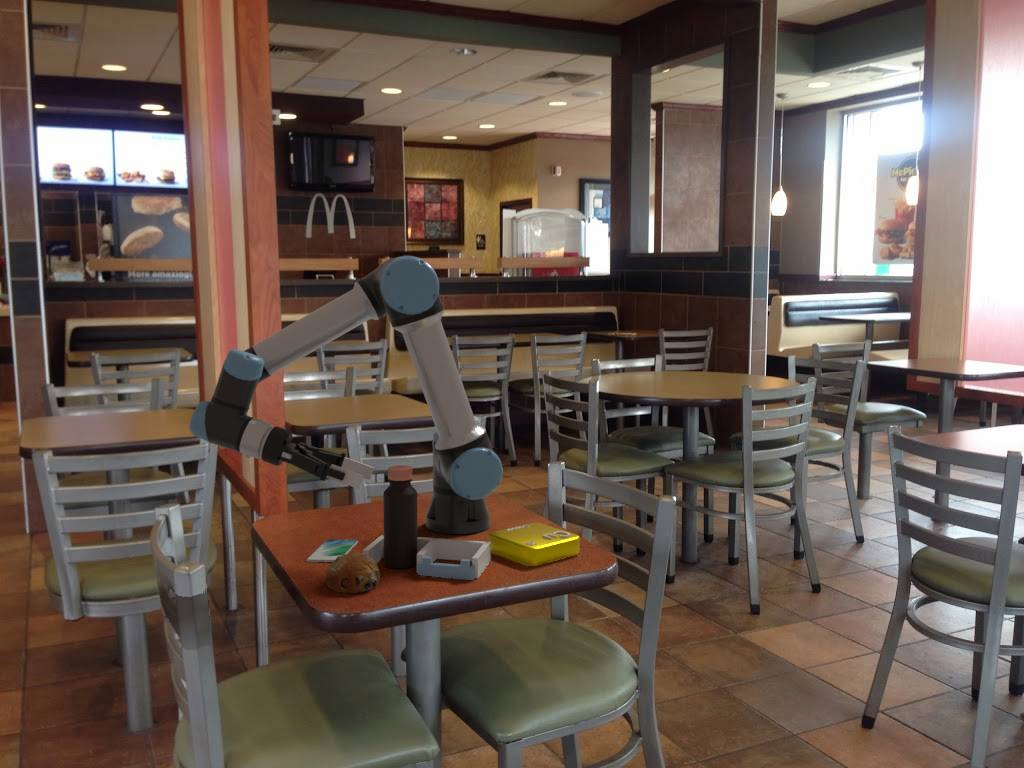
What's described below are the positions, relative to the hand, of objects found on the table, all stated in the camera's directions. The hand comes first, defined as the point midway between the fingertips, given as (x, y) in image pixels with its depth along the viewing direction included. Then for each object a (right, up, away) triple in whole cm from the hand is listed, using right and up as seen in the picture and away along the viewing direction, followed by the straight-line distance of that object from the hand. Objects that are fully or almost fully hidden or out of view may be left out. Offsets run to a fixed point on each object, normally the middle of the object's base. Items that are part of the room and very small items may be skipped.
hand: (367, 477), depth 180 cm
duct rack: (+12, -18, 0) cm, 22 cm away
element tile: (+34, -18, +10) cm, 40 cm away
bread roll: (-1, -19, -11) cm, 22 cm away
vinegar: (+7, -18, +1) cm, 19 cm away
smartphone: (-9, -17, +9) cm, 22 cm away
